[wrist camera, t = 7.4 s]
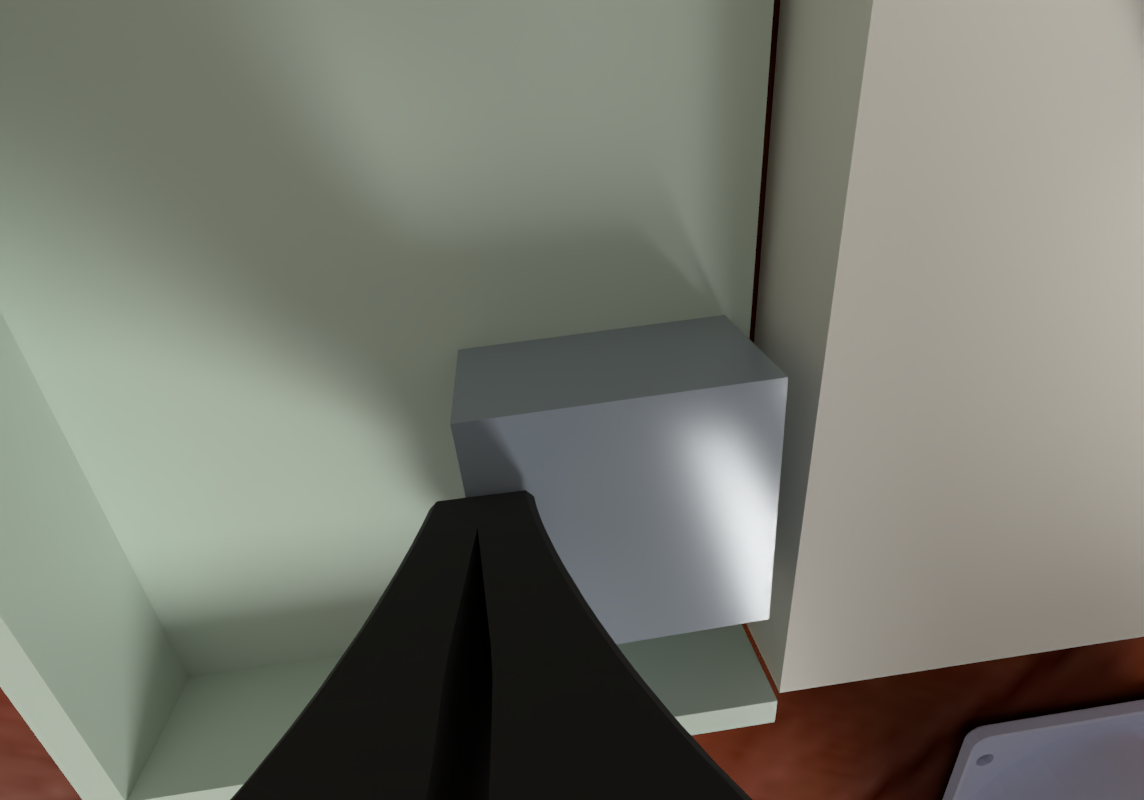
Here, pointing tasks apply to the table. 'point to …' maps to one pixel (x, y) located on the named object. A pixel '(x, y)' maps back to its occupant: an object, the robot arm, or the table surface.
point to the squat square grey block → (637, 464)
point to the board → (954, 332)
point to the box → (318, 325)
